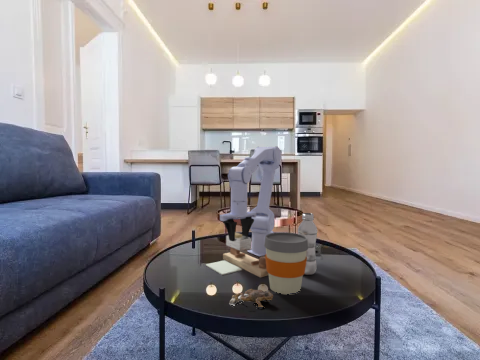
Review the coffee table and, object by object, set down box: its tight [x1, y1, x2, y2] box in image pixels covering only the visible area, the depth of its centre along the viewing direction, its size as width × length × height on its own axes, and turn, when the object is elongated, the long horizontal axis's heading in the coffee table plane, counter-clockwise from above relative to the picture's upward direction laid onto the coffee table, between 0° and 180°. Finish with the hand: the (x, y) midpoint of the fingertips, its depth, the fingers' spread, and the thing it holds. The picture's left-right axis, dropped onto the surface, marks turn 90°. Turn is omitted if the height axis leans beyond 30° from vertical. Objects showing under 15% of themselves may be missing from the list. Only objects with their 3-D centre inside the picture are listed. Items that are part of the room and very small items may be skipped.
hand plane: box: [222, 247, 269, 278], centre depth 103 cm, size 7×22×6 cm, turn 36°
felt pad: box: [205, 259, 243, 276], centre depth 100 cm, size 8×11×1 cm
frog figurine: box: [228, 287, 274, 307], centre depth 76 cm, size 12×12×4 cm
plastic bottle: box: [297, 212, 318, 276], centre depth 96 cm, size 6×7×20 cm
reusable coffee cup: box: [264, 231, 308, 295], centre depth 84 cm, size 13×13×15 cm
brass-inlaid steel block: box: [225, 231, 252, 251], centre depth 101 cm, size 5×8×4 cm, turn 37°
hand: (238, 239), depth 101 cm, fingers open, 5 cm apart
